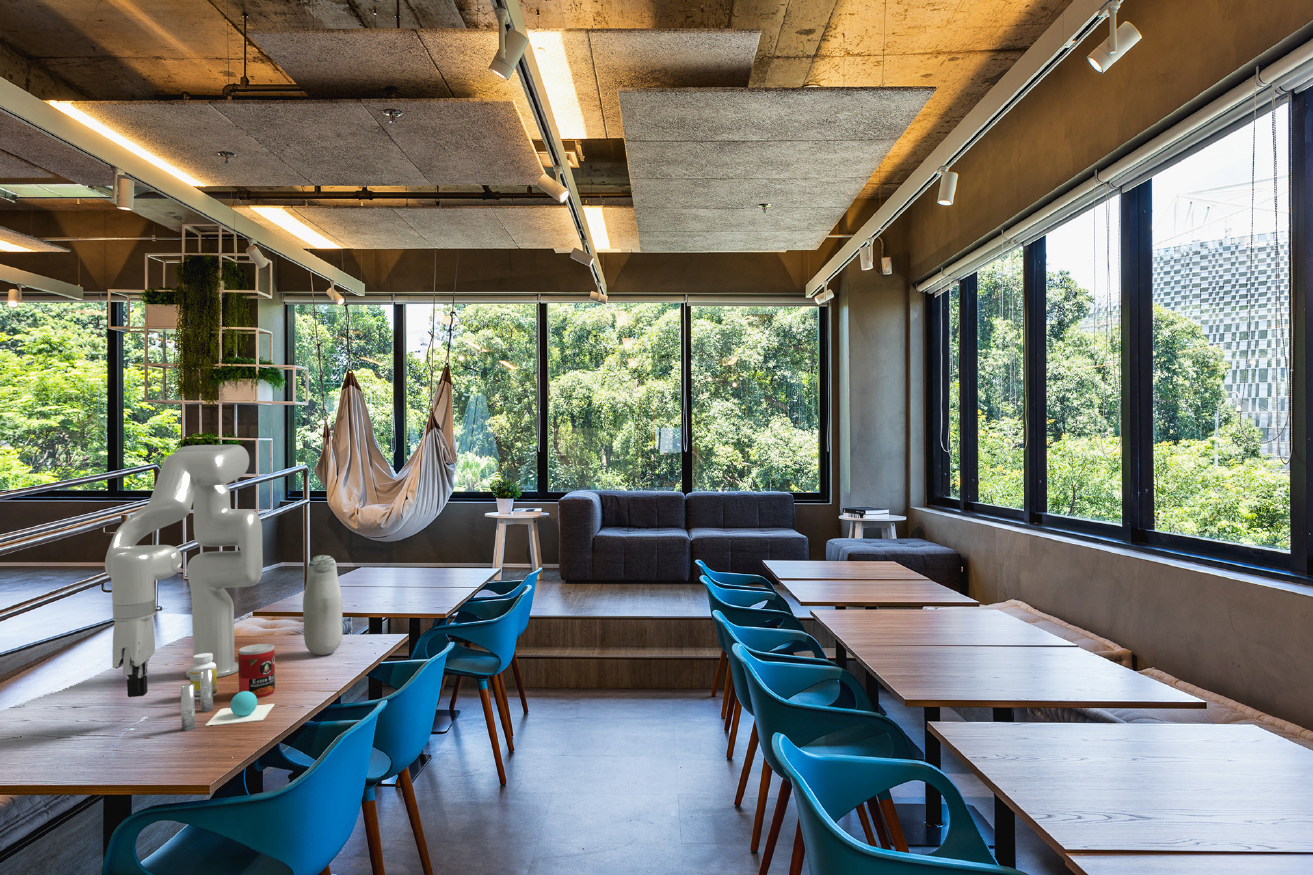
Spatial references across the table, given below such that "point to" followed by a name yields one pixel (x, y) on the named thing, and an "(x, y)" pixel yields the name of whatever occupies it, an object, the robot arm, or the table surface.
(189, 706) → the post
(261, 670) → the canned food
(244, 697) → the ball
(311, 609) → the grey bottle
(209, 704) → the post
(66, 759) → the table surface
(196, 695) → the supplement bottle
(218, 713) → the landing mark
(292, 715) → the table surface
